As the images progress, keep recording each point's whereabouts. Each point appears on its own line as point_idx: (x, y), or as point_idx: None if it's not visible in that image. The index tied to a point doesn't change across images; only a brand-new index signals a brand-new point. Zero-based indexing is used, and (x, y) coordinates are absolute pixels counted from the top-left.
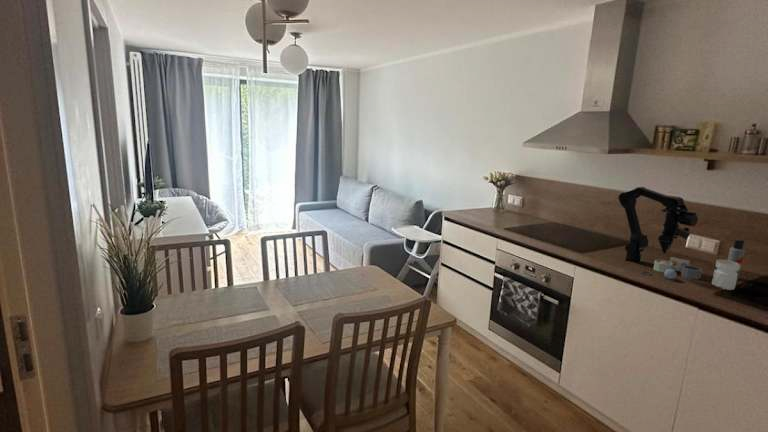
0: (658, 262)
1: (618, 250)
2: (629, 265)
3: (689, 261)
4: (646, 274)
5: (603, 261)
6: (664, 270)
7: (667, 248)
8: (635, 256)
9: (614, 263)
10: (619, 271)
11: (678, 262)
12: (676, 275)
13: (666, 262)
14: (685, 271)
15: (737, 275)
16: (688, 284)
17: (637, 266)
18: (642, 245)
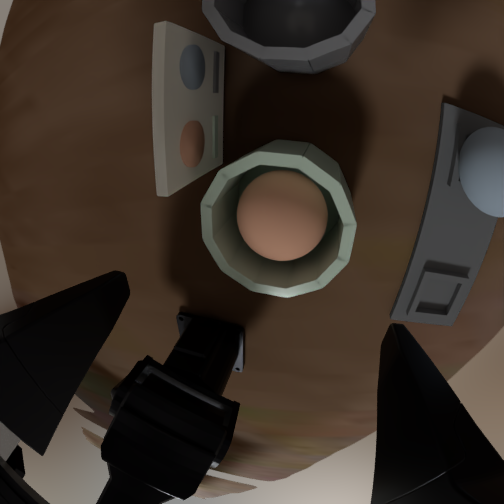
0: (327, 273)
1: (113, 360)
2: (301, 356)
3: (158, 25)
4: (460, 292)
5: (311, 418)
6: (349, 195)
7: (452, 393)
8: (222, 367)
9: (313, 397)
10: None
11: (184, 112)
12: (502, 129)
13: (279, 210)
14: (357, 39)
15: None
16: (482, 51)
17: (291, 327)
18: (195, 426)
